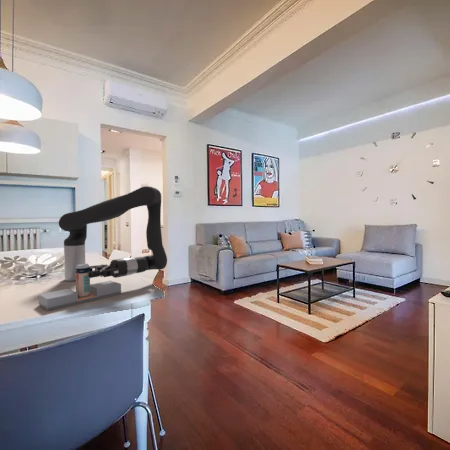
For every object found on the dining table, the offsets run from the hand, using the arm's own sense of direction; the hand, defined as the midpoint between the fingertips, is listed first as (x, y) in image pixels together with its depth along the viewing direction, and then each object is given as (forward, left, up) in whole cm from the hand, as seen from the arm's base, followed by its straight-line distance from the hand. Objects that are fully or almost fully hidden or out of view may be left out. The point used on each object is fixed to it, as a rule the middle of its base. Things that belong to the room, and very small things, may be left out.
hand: (84, 273), depth 102 cm
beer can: (0, -1, -9) cm, 9 cm away
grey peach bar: (0, -1, -10) cm, 10 cm away
